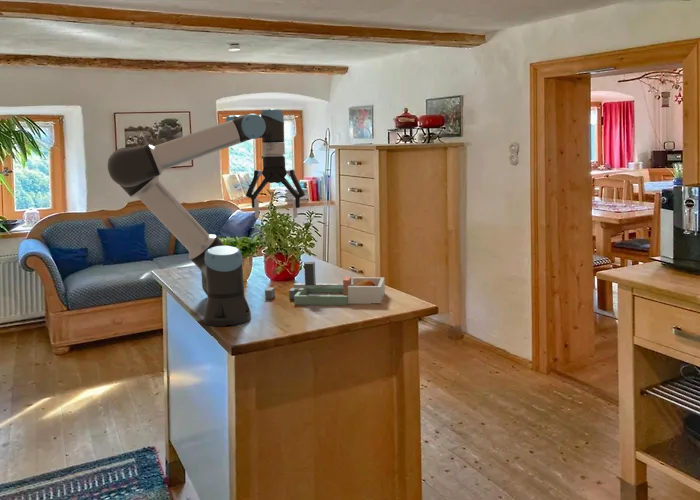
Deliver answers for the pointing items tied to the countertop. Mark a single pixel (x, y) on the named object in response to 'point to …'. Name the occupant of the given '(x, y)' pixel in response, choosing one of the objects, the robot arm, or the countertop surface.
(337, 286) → the kicker rod
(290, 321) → the countertop surface
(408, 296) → the countertop surface
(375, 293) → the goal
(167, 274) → the countertop surface
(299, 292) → the pitch
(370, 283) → the fruit
